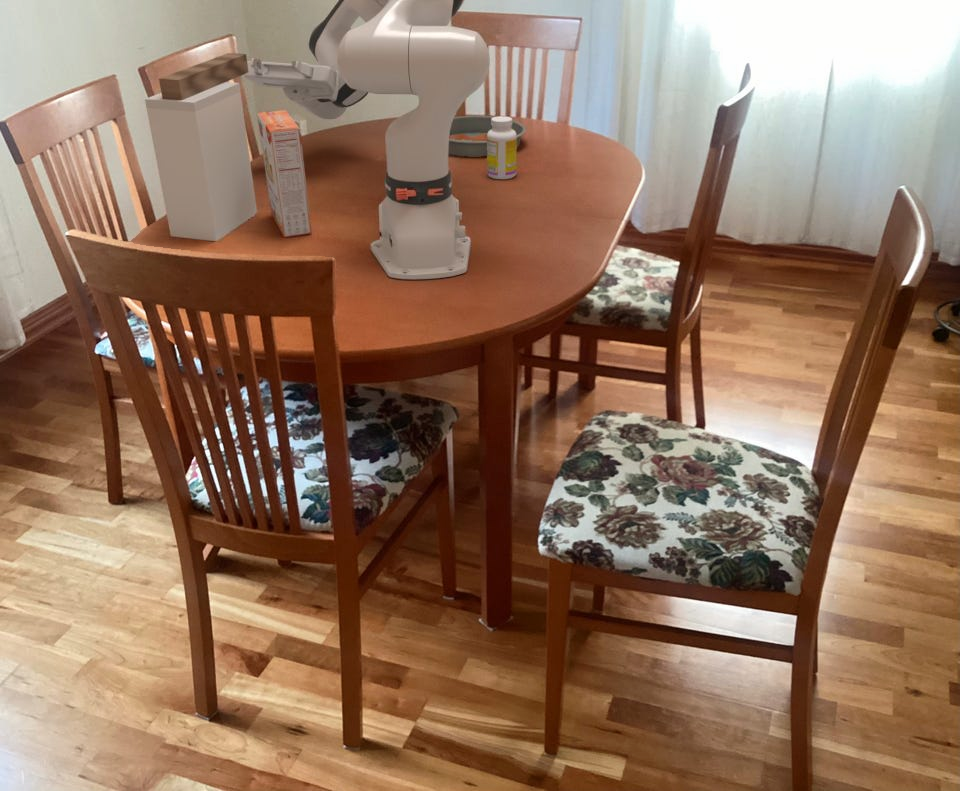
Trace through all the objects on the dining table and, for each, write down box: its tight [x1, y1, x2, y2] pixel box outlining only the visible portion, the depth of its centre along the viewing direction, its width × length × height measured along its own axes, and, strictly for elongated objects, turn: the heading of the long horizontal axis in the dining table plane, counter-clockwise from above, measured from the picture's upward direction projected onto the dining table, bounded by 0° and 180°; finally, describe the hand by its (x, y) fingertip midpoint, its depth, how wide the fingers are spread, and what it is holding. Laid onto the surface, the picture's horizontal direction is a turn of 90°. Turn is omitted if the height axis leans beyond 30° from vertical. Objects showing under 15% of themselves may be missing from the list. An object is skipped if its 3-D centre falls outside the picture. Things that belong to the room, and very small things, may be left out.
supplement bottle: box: [486, 115, 518, 180], centre depth 206 cm, size 7×7×13 cm
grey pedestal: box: [144, 81, 258, 242], centre depth 177 cm, size 16×10×26 cm, turn 163°
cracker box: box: [257, 109, 313, 238], centre depth 178 cm, size 14×6×21 cm, turn 21°
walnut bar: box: [158, 52, 249, 100], centre depth 173 cm, size 24×4×4 cm, turn 163°
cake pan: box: [448, 115, 527, 158], centre depth 230 cm, size 25×25×4 cm
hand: (274, 63), depth 192 cm, fingers open, 8 cm apart
